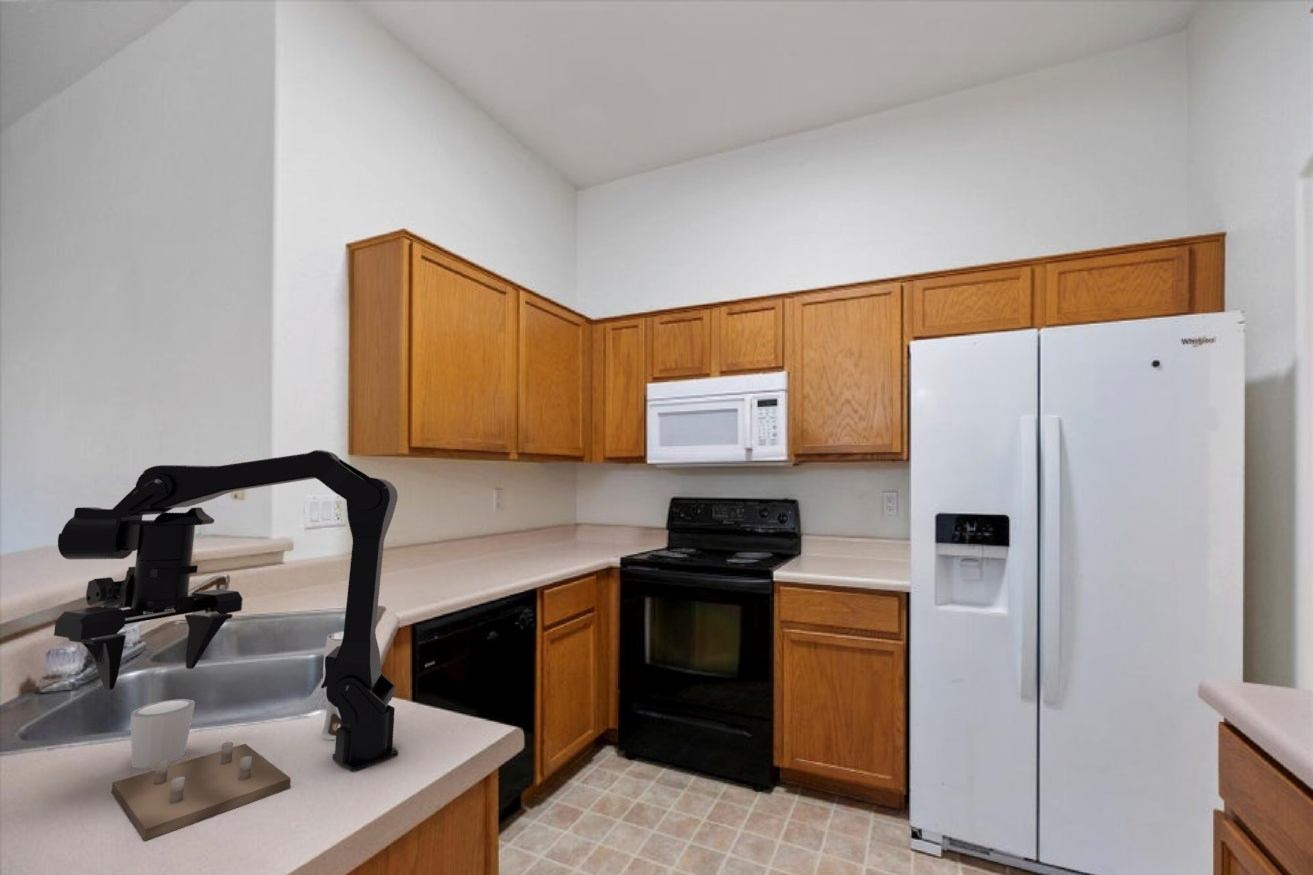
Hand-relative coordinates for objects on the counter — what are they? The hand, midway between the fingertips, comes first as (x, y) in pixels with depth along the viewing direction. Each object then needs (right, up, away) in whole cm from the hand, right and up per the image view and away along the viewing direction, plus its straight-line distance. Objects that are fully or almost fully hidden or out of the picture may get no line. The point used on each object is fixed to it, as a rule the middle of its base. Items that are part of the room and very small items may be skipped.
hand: (151, 678), depth 74 cm
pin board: (+10, -13, -4) cm, 16 cm away
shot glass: (-3, -14, +5) cm, 15 cm away
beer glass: (+18, -15, +14) cm, 27 cm away
